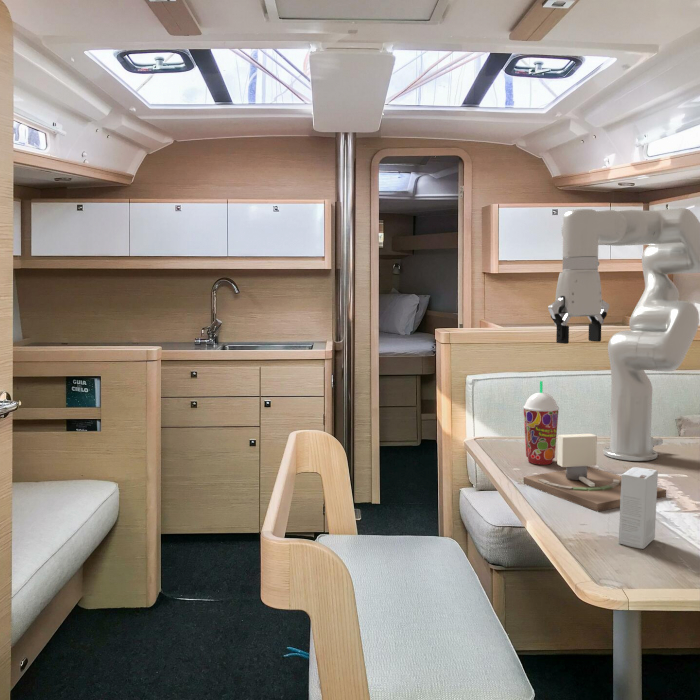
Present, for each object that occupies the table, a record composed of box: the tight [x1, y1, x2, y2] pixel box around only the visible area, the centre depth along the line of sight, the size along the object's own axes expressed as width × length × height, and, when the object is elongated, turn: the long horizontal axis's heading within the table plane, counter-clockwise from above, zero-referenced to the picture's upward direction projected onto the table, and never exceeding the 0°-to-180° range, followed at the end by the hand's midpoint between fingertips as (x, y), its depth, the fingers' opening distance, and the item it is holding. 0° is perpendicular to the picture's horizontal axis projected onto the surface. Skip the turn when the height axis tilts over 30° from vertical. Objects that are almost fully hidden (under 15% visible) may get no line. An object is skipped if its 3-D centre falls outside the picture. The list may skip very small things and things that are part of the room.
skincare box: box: [618, 466, 659, 550], centre depth 113 cm, size 6×4×12 cm
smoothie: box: [523, 380, 560, 466], centre depth 165 cm, size 8×8×20 cm
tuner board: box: [522, 466, 667, 512], centre depth 143 cm, size 19×21×2 cm
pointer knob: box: [556, 433, 598, 487], centre depth 143 cm, size 10×8×9 cm
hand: (578, 342), depth 153 cm, fingers open, 9 cm apart
